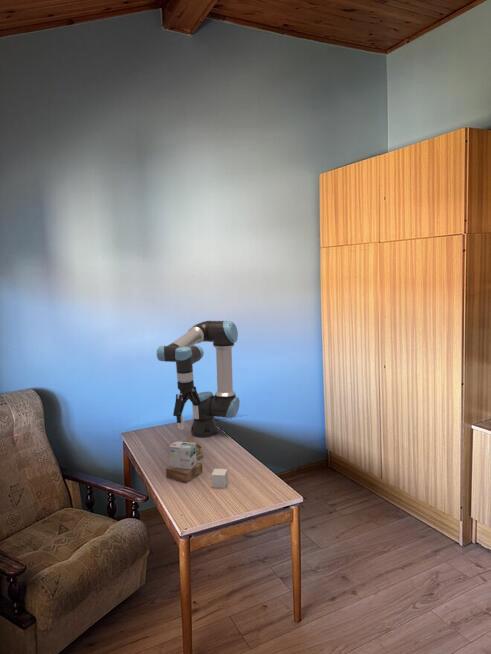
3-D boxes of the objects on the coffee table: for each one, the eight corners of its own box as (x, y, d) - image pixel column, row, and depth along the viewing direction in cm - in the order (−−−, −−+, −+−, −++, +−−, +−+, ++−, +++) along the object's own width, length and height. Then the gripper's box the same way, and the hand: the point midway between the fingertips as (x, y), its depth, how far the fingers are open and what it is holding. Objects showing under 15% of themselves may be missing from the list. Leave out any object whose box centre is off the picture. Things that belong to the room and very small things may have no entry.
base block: (183, 468, 244) (182, 458, 243) (202, 473, 237) (202, 463, 236) (166, 478, 234) (165, 468, 233) (186, 484, 227) (185, 473, 226)
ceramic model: (178, 453, 261) (177, 434, 259) (197, 448, 266) (196, 430, 265) (188, 462, 249) (187, 443, 247) (209, 457, 254) (208, 438, 253)
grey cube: (215, 481, 229) (214, 468, 228) (227, 481, 227) (227, 469, 226) (211, 487, 223) (211, 474, 222) (225, 488, 222) (224, 475, 221)
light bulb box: (197, 464, 236) (196, 442, 234) (191, 470, 230) (189, 448, 228) (176, 461, 239) (175, 440, 238) (170, 467, 233) (168, 445, 231)
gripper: (192, 372, 245) (195, 413, 249) (163, 387, 223) (166, 432, 227) (205, 373, 242) (208, 415, 246) (177, 389, 220) (180, 434, 224)
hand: (188, 423), depth 236 cm, fingers open, 13 cm apart
